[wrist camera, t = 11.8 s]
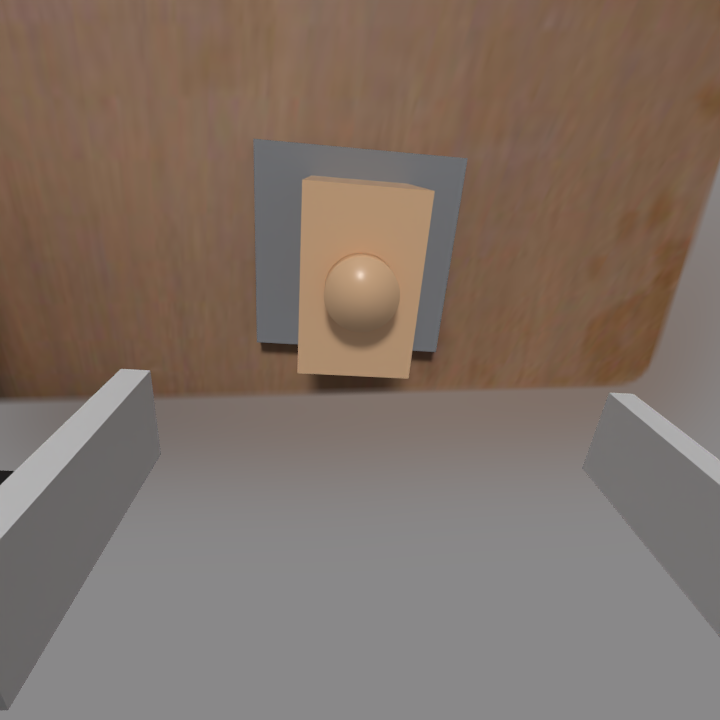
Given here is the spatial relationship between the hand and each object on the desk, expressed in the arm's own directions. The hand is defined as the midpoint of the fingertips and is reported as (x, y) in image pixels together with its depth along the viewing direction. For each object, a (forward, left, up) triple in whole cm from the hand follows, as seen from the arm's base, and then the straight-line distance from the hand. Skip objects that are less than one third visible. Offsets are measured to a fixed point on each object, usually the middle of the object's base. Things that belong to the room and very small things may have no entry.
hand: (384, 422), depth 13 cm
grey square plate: (0, 0, -27) cm, 27 cm away
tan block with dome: (0, 0, -25) cm, 25 cm away
